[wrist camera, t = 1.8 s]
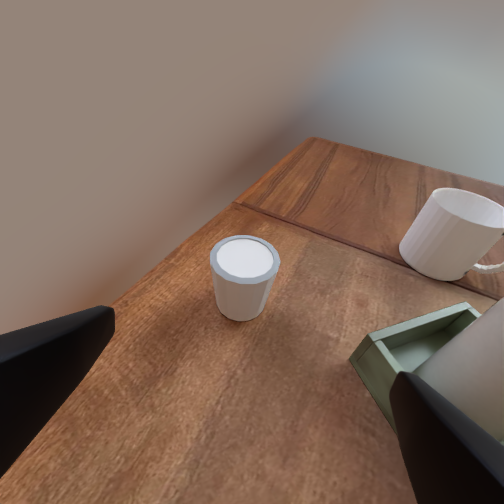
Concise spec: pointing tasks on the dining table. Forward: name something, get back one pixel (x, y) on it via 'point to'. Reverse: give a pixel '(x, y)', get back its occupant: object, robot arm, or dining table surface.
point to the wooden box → (406, 349)
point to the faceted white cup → (243, 275)
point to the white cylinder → (473, 370)
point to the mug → (453, 235)
